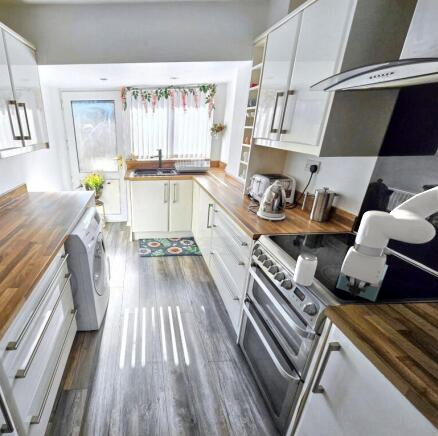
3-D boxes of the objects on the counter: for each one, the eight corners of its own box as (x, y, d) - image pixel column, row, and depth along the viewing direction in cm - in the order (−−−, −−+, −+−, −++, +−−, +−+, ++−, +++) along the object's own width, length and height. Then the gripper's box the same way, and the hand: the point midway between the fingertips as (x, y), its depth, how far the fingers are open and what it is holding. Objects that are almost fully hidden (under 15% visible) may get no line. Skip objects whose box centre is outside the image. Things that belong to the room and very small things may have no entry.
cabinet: (374, 301, 86) (382, 280, 83) (336, 287, 95) (342, 267, 91) (380, 285, 95) (388, 265, 91) (344, 273, 103) (350, 254, 99)
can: (295, 285, 97) (300, 259, 92) (292, 276, 102) (297, 251, 98) (313, 288, 95) (320, 262, 90) (309, 278, 100) (315, 253, 96)
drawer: (370, 306, 83) (377, 288, 81) (334, 292, 91) (340, 275, 88) (378, 285, 93) (384, 268, 91) (345, 274, 101) (350, 259, 98)
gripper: (402, 252, 75) (383, 299, 82) (343, 237, 86) (331, 280, 92) (399, 261, 71) (380, 310, 77) (337, 244, 81) (325, 289, 88)
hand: (353, 294), depth 85 cm, fingers closed
